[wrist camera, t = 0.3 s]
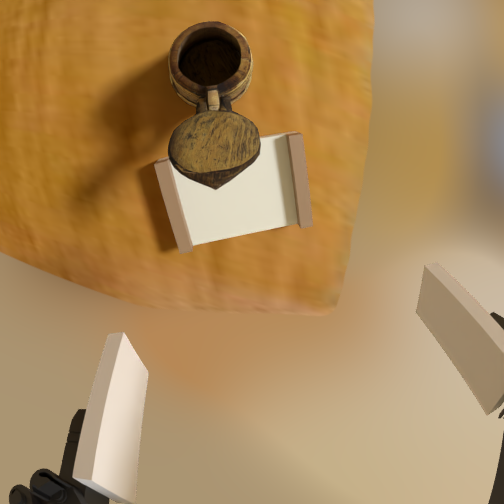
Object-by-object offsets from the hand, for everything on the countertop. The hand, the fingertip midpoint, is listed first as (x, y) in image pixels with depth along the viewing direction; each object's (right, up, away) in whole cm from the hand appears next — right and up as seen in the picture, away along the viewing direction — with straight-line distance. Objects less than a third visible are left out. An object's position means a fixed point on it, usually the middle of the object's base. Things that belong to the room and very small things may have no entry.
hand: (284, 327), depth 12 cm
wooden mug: (-6, +21, +18) cm, 28 cm away
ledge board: (-3, +11, +23) cm, 26 cm away
